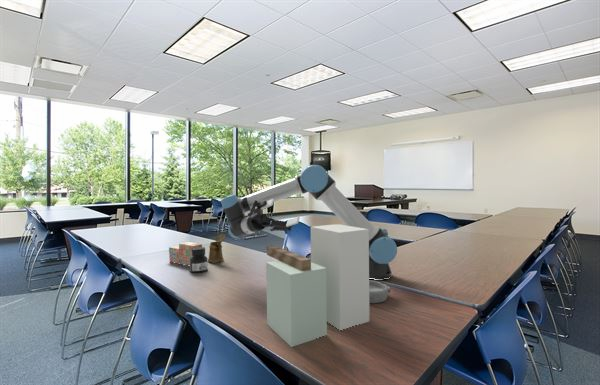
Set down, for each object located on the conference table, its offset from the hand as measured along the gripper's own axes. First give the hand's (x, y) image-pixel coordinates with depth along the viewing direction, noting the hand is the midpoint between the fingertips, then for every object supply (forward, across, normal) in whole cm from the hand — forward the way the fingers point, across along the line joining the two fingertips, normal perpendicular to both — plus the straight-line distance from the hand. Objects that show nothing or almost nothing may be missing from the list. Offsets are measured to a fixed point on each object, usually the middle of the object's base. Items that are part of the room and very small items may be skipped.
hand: (286, 211), depth 114 cm
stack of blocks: (-91, -4, -7) cm, 91 cm away
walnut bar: (+9, 0, -22) cm, 24 cm away
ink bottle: (-72, -6, -13) cm, 73 cm away
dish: (+10, -43, -18) cm, 48 cm away
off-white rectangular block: (+12, -25, -31) cm, 42 cm away
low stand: (+7, -11, -40) cm, 42 cm away
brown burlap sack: (-81, -18, -1) cm, 83 cm away
